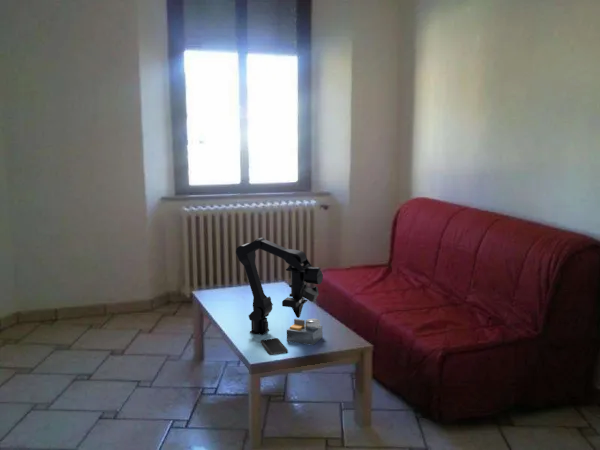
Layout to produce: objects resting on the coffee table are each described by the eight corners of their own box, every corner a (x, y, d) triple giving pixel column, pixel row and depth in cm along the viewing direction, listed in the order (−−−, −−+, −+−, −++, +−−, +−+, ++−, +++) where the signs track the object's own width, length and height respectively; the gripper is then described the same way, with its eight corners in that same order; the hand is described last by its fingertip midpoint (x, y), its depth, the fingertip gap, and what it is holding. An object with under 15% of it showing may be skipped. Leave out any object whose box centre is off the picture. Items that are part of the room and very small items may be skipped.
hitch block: (286, 341, 246) (286, 329, 245) (296, 333, 255) (296, 322, 254) (313, 345, 241) (313, 333, 240) (322, 337, 250) (322, 326, 249)
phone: (269, 353, 231) (259, 340, 245) (269, 356, 231) (259, 342, 245) (288, 350, 233) (277, 337, 247) (288, 353, 234) (277, 340, 248)
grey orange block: (295, 325, 250) (289, 328, 246) (294, 318, 250) (289, 322, 245) (304, 326, 249) (299, 330, 244) (304, 320, 248) (299, 323, 244)
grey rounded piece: (303, 338, 246) (303, 322, 245) (309, 333, 252) (309, 317, 250) (316, 340, 244) (316, 324, 242) (322, 335, 249) (321, 319, 248)
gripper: (306, 289, 233) (306, 327, 236) (324, 278, 250) (324, 313, 252) (281, 286, 238) (281, 323, 240) (300, 275, 254) (300, 310, 257)
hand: (298, 317), depth 247 cm, fingers closed
